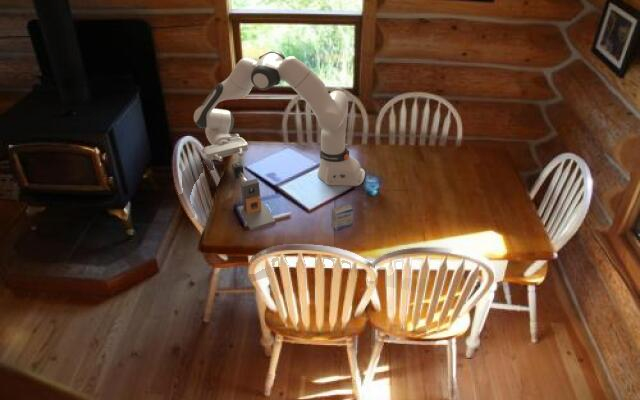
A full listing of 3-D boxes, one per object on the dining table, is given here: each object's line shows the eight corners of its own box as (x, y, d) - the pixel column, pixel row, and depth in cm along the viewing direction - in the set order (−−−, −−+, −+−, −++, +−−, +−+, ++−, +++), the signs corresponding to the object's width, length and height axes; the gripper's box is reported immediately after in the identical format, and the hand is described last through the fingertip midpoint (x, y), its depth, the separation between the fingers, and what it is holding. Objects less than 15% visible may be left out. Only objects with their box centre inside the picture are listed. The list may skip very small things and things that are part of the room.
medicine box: (336, 230, 214) (336, 214, 209) (330, 224, 218) (331, 208, 212) (352, 225, 217) (353, 208, 212) (347, 219, 221) (348, 202, 215)
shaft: (233, 175, 232) (231, 164, 229) (241, 173, 234) (240, 162, 230) (245, 195, 221) (244, 183, 217) (254, 192, 222) (253, 181, 218)
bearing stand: (237, 209, 226) (234, 182, 217) (261, 202, 230) (259, 175, 221) (250, 231, 214) (247, 202, 205) (275, 223, 218) (273, 195, 209)
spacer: (246, 211, 222) (245, 199, 218) (259, 207, 224) (258, 195, 221) (248, 214, 221) (247, 201, 217) (261, 210, 223) (260, 197, 219)
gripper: (199, 143, 240) (208, 157, 230) (241, 132, 247) (251, 146, 237) (201, 154, 244) (210, 169, 234) (242, 144, 251) (252, 157, 241)
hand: (231, 157), depth 236 cm, fingers open, 8 cm apart
